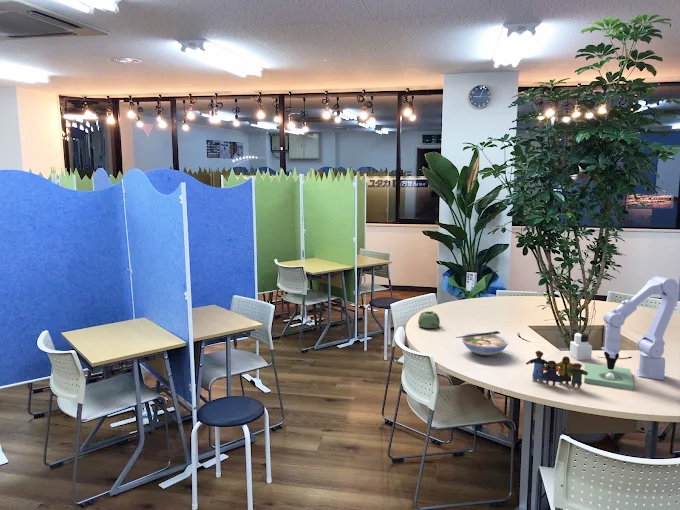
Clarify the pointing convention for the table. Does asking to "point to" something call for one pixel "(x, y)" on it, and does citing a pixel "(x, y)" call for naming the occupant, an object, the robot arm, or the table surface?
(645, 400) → the table surface
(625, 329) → the table surface
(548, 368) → the doll family
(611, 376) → the ball
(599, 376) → the deck
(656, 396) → the table surface
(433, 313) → the green dome
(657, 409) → the table surface
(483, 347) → the ramen bowl
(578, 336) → the medicine bottle
